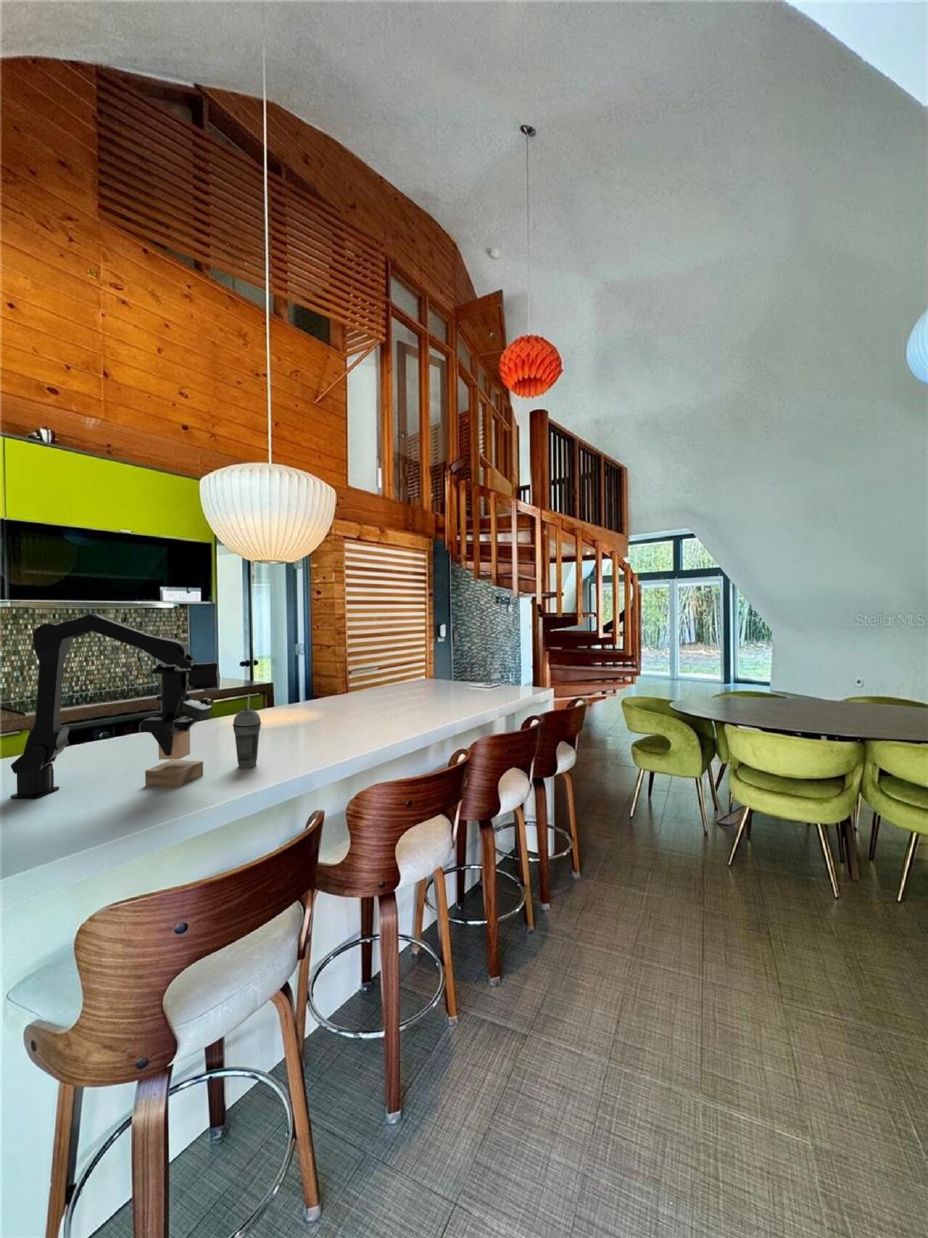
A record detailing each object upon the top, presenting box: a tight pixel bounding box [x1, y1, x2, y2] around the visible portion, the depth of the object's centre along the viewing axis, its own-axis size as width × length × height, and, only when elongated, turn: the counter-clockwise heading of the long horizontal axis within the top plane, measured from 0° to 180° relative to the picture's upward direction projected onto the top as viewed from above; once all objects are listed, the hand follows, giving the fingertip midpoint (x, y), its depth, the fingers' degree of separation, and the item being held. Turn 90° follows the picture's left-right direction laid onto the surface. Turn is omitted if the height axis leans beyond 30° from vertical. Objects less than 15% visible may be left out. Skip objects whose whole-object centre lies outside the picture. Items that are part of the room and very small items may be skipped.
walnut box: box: [144, 759, 204, 788], centre depth 128 cm, size 9×9×4 cm
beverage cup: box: [232, 693, 262, 769], centre depth 140 cm, size 7×7×20 cm
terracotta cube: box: [158, 730, 191, 761], centre depth 128 cm, size 5×5×6 cm
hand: (174, 752), depth 128 cm, fingers closed on terracotta cube, 5 cm apart
